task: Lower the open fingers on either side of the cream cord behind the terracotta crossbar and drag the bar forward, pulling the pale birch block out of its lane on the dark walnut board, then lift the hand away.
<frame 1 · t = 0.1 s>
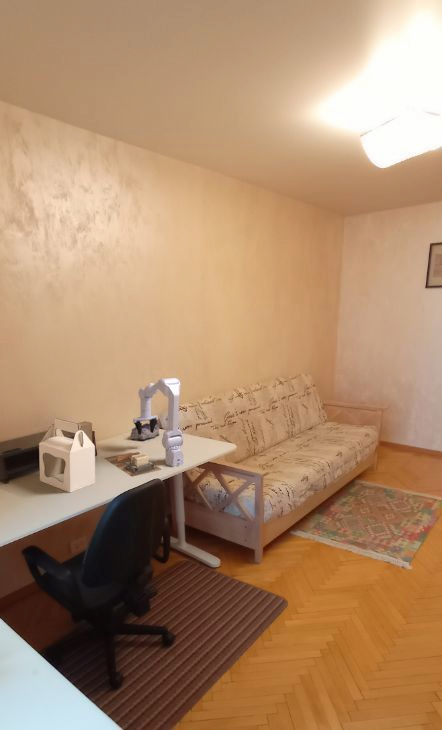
hand: (145, 433, 232), 10 cm above the table, fingers open, 7 cm apart
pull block: (139, 468, 203), point 1 cm above the table, touching lane board
geode: (145, 437, 260), on the table
lane board: (131, 465, 209), on the table
gable box: (67, 482, 187), on the table
decorative block: (80, 462, 212), on the table
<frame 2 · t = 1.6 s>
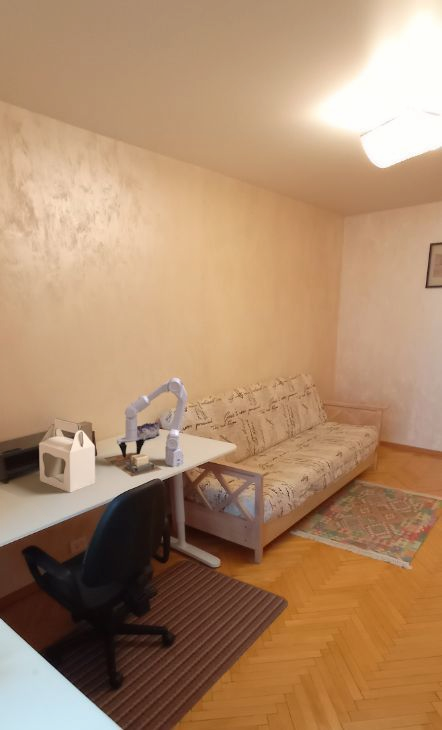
hand: (131, 455, 209), 5 cm above the table, fingers open, 7 cm apart
nothing on the table moved.
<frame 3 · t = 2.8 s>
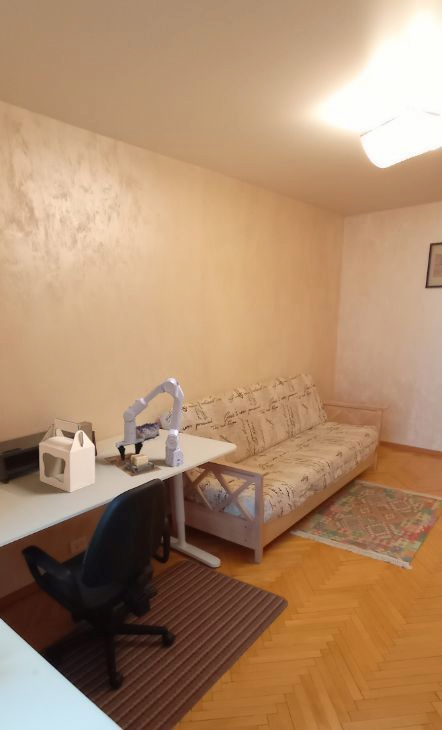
hand: (130, 458, 211), 3 cm above the table, fingers open, 7 cm apart
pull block: (139, 468, 203), point 1 cm above the table, touching gripper, lane board
everything else where it was.
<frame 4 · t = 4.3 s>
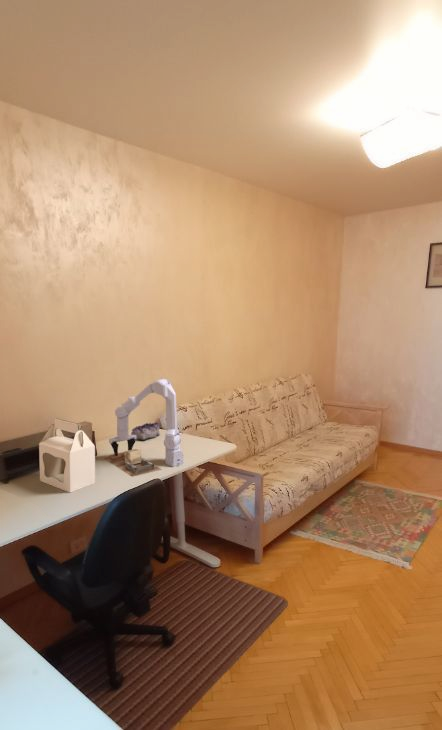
hand: (122, 454, 217), 3 cm above the table, fingers open, 7 cm apart
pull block: (133, 462, 209), point 1 cm above the table, tilted 8°, touching gripper, lane board
everything else where it was.
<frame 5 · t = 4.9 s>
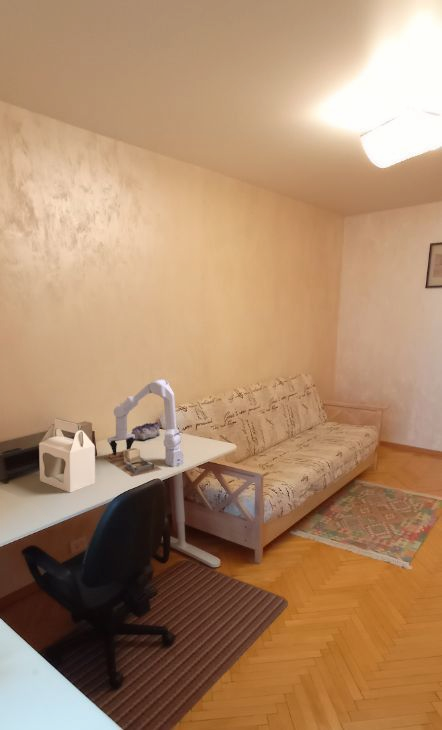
hand: (121, 453, 218), 3 cm above the table, fingers open, 7 cm apart
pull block: (132, 461, 211), point 1 cm above the table, tilted 8°, touching gripper, lane board
everything else where it was.
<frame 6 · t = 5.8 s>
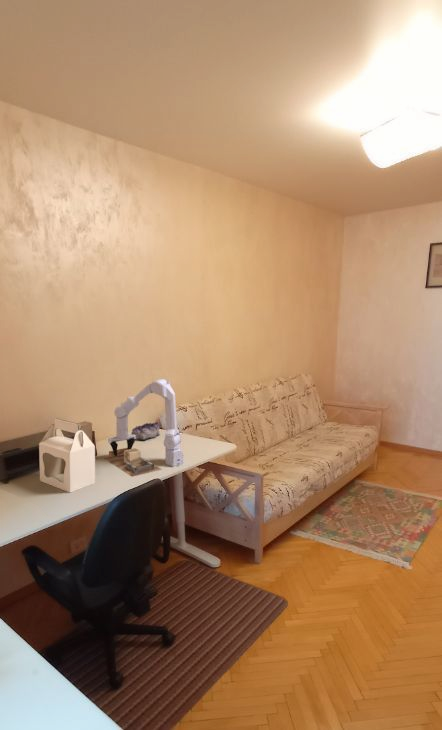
hand: (122, 454, 218), 3 cm above the table, fingers open, 7 cm apart
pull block: (132, 462, 211), point 1 cm above the table, touching lane board
everything else where it was.
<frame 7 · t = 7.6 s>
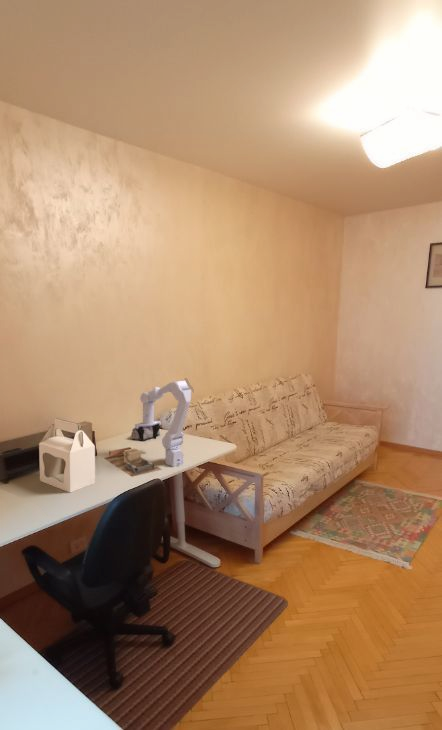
hand: (148, 439, 222), 9 cm above the table, fingers open, 7 cm apart
nothing on the table moved.
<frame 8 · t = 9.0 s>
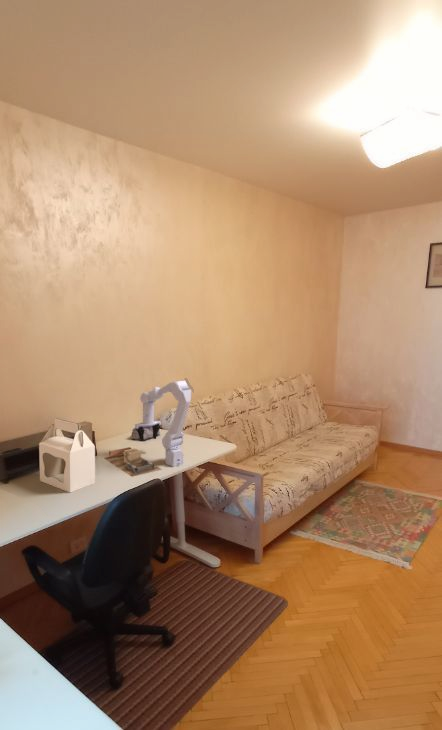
hand: (148, 439, 222), 9 cm above the table, fingers open, 7 cm apart
nothing on the table moved.
at the end: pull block 1.1 cm from the target spot, point 1.0 cm above the table; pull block tilted 0°; the gripper is holding nothing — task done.
